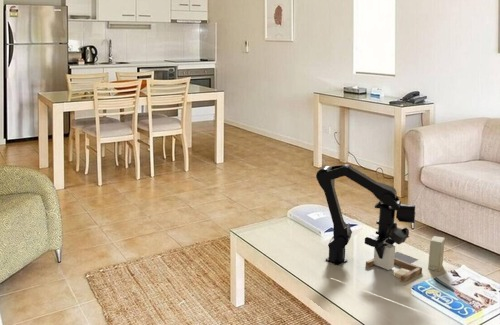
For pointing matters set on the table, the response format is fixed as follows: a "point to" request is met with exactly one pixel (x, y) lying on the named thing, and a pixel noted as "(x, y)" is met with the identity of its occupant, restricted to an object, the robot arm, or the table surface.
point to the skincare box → (436, 253)
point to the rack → (414, 269)
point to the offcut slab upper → (401, 272)
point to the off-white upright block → (385, 257)
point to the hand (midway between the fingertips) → (383, 257)
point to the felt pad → (405, 257)
